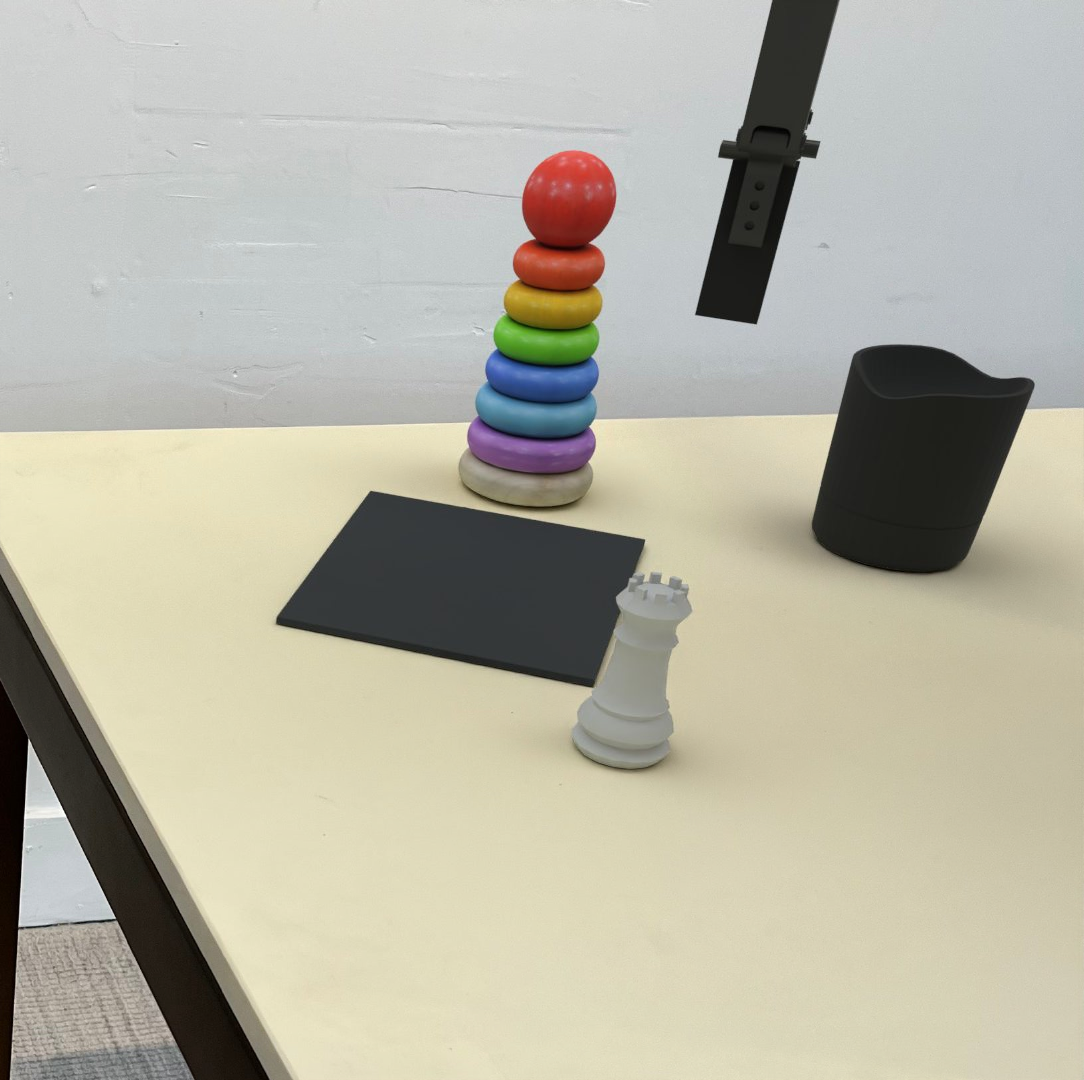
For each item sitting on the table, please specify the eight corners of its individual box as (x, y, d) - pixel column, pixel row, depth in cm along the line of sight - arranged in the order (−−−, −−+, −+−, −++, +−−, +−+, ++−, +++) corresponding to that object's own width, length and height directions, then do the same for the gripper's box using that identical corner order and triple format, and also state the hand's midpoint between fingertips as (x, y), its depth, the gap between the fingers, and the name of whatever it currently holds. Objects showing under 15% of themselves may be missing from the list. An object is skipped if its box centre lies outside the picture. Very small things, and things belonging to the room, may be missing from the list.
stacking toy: (546, 460, 115) (611, 135, 104) (613, 507, 109) (690, 167, 98) (433, 468, 113) (487, 137, 102) (495, 516, 107) (559, 170, 96)
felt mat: (643, 545, 104) (645, 539, 104) (592, 687, 89) (594, 679, 89) (369, 496, 108) (370, 490, 108) (275, 623, 93) (276, 616, 93)
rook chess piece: (608, 779, 81) (650, 610, 77) (549, 734, 85) (585, 569, 80) (689, 763, 83) (734, 596, 78) (627, 719, 86) (667, 557, 81)
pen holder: (954, 524, 109) (1012, 354, 103) (989, 585, 102) (1054, 405, 96) (792, 507, 110) (840, 337, 105) (815, 566, 103) (868, 386, 97)
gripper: (799, -335, 75) (659, 270, 88) (777, -344, 65) (623, 339, 79) (995, -323, 73) (820, 294, 87) (1004, -330, 63) (805, 368, 77)
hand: (727, 315), depth 83 cm, fingers closed
